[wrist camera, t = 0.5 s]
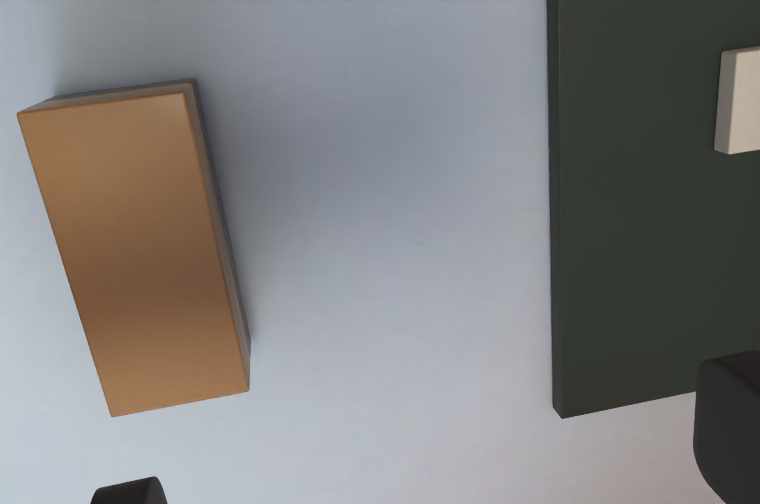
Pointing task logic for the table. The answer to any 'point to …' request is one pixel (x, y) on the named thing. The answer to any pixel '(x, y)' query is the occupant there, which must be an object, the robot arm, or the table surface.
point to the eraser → (143, 241)
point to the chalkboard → (646, 200)
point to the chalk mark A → (738, 102)
